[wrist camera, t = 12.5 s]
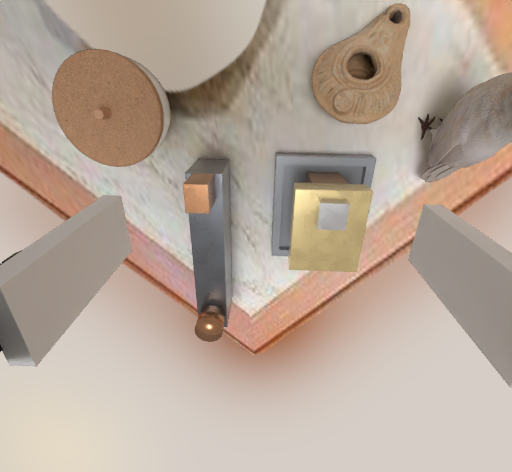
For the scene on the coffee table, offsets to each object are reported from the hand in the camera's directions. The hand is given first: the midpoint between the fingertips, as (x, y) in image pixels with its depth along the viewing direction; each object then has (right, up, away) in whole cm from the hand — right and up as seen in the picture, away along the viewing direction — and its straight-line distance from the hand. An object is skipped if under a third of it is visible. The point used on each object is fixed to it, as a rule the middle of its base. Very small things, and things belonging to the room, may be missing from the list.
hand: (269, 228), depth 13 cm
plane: (-6, 0, +30) cm, 31 cm away
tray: (+8, +4, +28) cm, 29 cm away
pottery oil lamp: (+11, +19, +20) cm, 30 cm away
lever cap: (+8, +1, +22) cm, 24 cm away
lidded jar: (-15, +15, +23) cm, 31 cm away
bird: (+21, +13, +23) cm, 34 cm away
